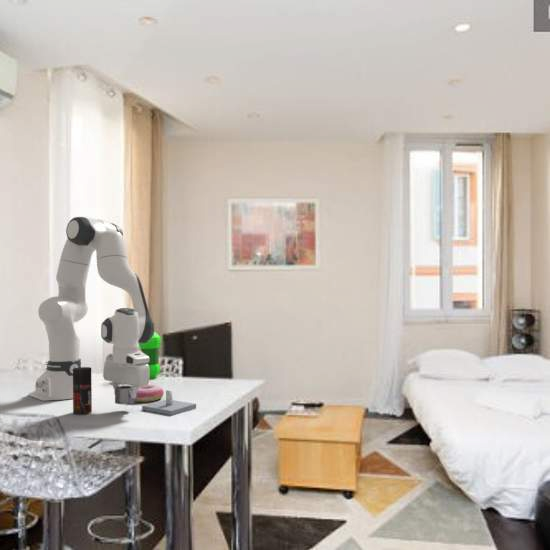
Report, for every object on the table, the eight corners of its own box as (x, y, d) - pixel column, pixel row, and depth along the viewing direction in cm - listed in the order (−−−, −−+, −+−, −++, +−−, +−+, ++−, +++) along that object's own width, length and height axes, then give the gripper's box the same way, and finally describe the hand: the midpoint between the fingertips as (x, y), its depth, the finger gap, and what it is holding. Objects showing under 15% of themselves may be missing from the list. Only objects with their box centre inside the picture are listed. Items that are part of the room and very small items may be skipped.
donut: (144, 405, 197) (144, 391, 197) (118, 401, 204) (118, 387, 204) (170, 398, 208) (170, 385, 208) (145, 394, 215) (145, 381, 216)
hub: (111, 402, 187) (111, 387, 187) (126, 399, 192) (126, 384, 192) (123, 405, 183) (123, 390, 183) (138, 401, 188) (138, 387, 188)
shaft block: (142, 410, 189) (141, 391, 189) (167, 403, 199) (166, 385, 199) (171, 415, 181) (171, 395, 181) (196, 408, 191) (195, 389, 191)
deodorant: (75, 410, 189) (75, 367, 189) (93, 410, 190) (93, 366, 190) (71, 415, 183) (70, 370, 183) (89, 414, 184) (88, 369, 184)
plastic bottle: (159, 379, 246) (158, 323, 247) (135, 379, 247) (135, 324, 247) (163, 375, 256) (163, 322, 257) (141, 375, 257) (140, 322, 257)
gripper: (99, 354, 191) (98, 393, 191) (138, 360, 179) (137, 402, 179) (113, 352, 196) (113, 390, 196) (153, 357, 184) (152, 399, 184)
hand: (125, 396), depth 188 cm, fingers closed on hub, 6 cm apart
